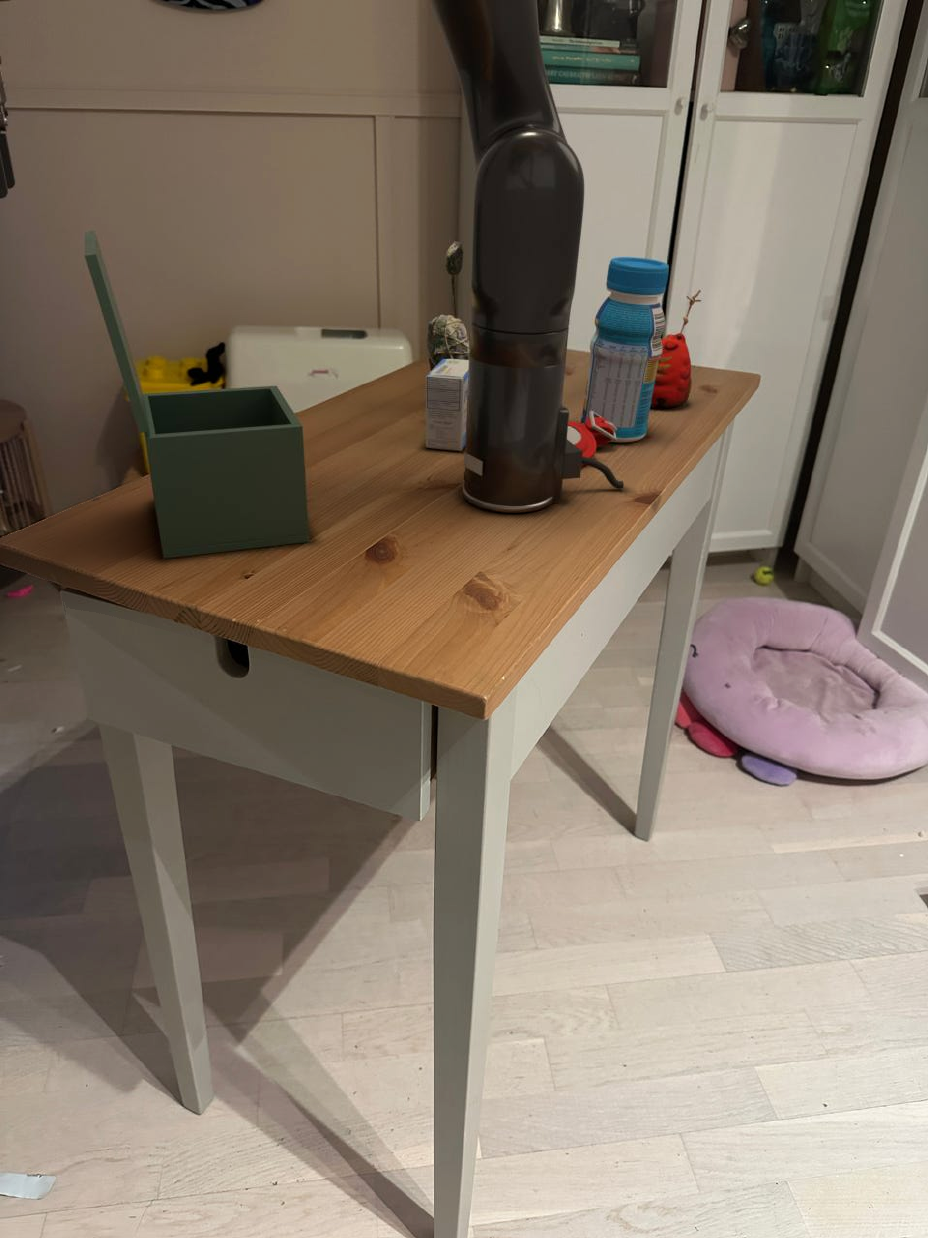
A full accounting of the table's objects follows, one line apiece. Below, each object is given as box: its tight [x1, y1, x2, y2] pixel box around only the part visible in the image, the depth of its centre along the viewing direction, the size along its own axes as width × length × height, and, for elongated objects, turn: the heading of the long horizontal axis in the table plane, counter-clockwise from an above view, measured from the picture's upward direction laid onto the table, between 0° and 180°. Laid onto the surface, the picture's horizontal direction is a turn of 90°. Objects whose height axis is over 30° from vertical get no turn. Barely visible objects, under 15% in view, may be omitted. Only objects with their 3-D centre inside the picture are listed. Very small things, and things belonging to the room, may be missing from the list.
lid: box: [84, 230, 149, 434], centre depth 72 cm, size 13×13×1 cm
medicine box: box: [425, 359, 469, 452], centre depth 103 cm, size 8×4×9 cm, turn 168°
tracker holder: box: [567, 411, 617, 467], centre depth 103 cm, size 12×4×10 cm
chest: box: [143, 385, 310, 560], centre depth 80 cm, size 13×13×11 cm
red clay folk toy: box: [650, 289, 702, 409], centre depth 118 cm, size 8×7×15 cm
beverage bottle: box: [580, 256, 670, 443], centre depth 105 cm, size 8×8×20 cm
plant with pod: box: [426, 241, 470, 372], centre depth 112 cm, size 8×11×20 cm
